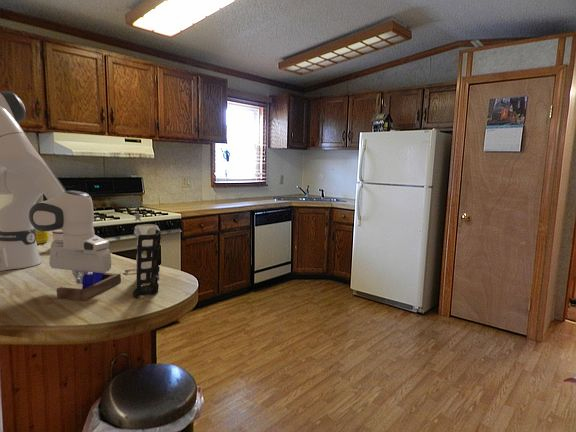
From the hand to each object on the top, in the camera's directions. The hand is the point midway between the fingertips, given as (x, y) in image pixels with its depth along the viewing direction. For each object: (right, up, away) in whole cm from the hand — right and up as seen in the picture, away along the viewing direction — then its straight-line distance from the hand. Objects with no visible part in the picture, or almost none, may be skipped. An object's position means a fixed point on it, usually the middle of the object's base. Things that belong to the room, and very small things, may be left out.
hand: (80, 283), depth 124 cm
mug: (-58, +8, +67) cm, 89 cm away
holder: (+22, -3, -1) cm, 23 cm away
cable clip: (+2, -2, +2) cm, 3 cm away
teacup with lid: (-39, +6, +56) cm, 69 cm away
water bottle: (+18, -1, +12) cm, 21 cm away
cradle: (+2, -2, +1) cm, 3 cm away
